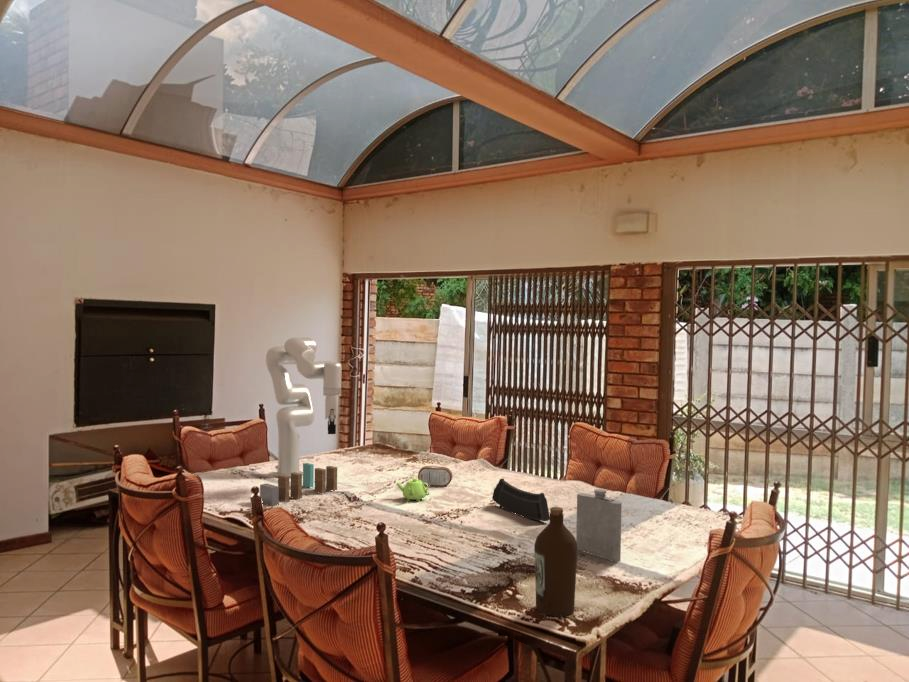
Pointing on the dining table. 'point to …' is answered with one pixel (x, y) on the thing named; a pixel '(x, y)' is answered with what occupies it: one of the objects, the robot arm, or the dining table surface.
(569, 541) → the olive oil
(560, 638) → the dining table surface
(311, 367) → the robot arm
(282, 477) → the domino
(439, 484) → the tin
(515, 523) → the dining table surface
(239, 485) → the dining table surface
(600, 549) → the hip flask
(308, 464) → the domino
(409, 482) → the teapot
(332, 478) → the domino
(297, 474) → the domino
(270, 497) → the block
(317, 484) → the domino
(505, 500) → the magazine
